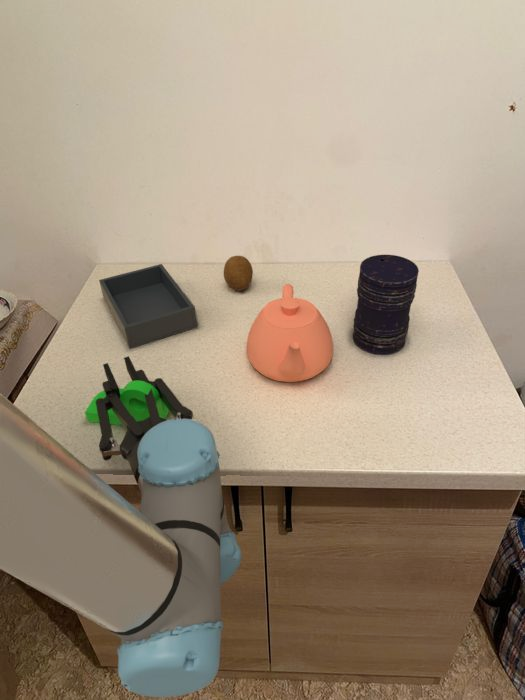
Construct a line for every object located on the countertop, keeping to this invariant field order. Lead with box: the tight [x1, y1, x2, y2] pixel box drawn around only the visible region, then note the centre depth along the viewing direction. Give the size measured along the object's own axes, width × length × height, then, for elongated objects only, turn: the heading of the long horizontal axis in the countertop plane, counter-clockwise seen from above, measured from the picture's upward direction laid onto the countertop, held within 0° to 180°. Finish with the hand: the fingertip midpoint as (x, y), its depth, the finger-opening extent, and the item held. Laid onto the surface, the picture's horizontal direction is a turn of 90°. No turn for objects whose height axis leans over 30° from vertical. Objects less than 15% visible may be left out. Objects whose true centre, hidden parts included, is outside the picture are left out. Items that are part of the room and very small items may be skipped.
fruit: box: [223, 255, 254, 291], centre depth 106 cm, size 6×6×8 cm
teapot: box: [246, 283, 334, 383], centre depth 85 cm, size 22×15×12 cm
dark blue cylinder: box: [352, 254, 420, 356], centre depth 89 cm, size 10×10×15 cm
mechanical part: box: [84, 380, 170, 426], centre depth 78 cm, size 12×6×8 cm, turn 80°
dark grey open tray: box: [98, 263, 198, 350], centre depth 101 cm, size 14×20×5 cm
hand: (117, 367), depth 80 cm, fingers open, 3 cm apart
